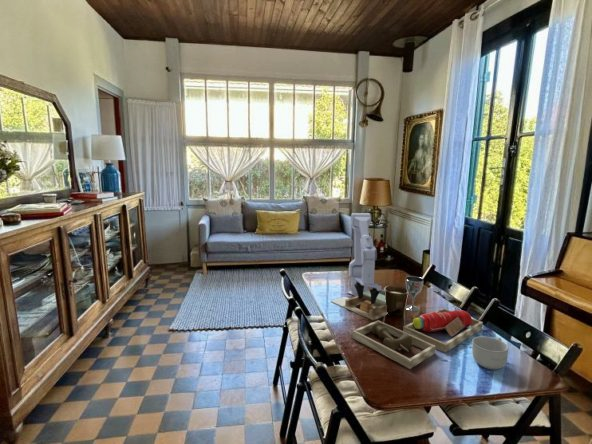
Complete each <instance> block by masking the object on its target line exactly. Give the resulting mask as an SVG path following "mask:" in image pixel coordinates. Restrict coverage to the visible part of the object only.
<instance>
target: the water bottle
mask: <svg viewBox="0 0 592 444" xmlns="http://www.w3.org/2000/svg"><path fill="white" fill-rule="evenodd" d="M472 318H473V317H472V315H471V313H469V312H468V311H465V310H462V309H459V310H457V309H456V310H450V312H442V313H438V312H435V311H434V312H433V311H432V312H427V313H422V314H420V315H419V316H418V317H415V318H413V320H412V322H413V325H414V327H415V328H416V329H415V330H421V331H423V332H427V333H431V332H432V333H433V332H439V331H440V332H441V331H444V330H445V331H446V333H447V334H448V335H449V337H452V338H454V337H455V335H456V334H458V333H459V332H460V331H461V330H463V329H468V328H470V327H471V323H472ZM453 336H454V337H453Z"/></svg>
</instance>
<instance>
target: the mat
mask: <svg viewBox="0 0 592 444" xmlns="http://www.w3.org/2000/svg"><path fill="white" fill-rule="evenodd" d="M350 298H351V297H350ZM350 298H349V297H347V296H342V297H339V298H336V299H333V300H330V302H331V303H332V304H335V305H337V306H339V307H342V308H345V307H344V305H345V301H346V300H347V299H350Z"/></svg>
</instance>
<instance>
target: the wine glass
mask: <svg viewBox="0 0 592 444" xmlns="http://www.w3.org/2000/svg"><path fill="white" fill-rule="evenodd" d="M423 286H424V278H422V277H420V276H415V275H410V276H406V277H405V287H406V291H407V292H408V293H409V295H410V297H411V305H410V304H409V305H405V306H406V307H405V306H404V309H405V310H407V311H409V312H420V311H421V308H420V307H418V306H417V305H415V303H414V302H415V298H416V296H417V295H418V294H420V293H421V291H422V290H423Z"/></svg>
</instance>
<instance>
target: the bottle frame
mask: <svg viewBox="0 0 592 444" xmlns="http://www.w3.org/2000/svg"><path fill="white" fill-rule="evenodd" d="M450 311H451V310H450V309H446V308H444V307H441V308H439V309H437V310H435V311H434V312H438V313H442V312H450ZM471 318H472V323H471V325H470V326H469V327H468V328H466V329H465V330H463V331H462V332H460V333H459V334H457V335H456V336H454V337H452V338H451V339H449V340H447V341H446V342H443V341H441V340H438V339H436V338H433V337H431V336H430V335H429V336H428V335H426V334H425V333H423V332H421V331H420V332H419V331H418V330H417V329H416V328H415V327H414V325H413V321H412V322H410V323H408V324H406V325H403V327H402V328H403V329H402V331H404V332H406V333H408V334H410V335H413V336H415V337H417V338H419V339H422V340H424V341H426V342H428V343H430V344H433V345H435V346H436V348H435V350H439V351H441V352H443V353H447V352H448V351H450V350H451V349H453V348H455V347H457V346H458V345H459V344H461V343H462V342H465V340H468V338H470V337H472V336H473V335H475V334H476V333H478V332H479V331H481V330H483V326H484V325H483V324H484V322H483V321H481V320H479V319H476V318H473V317H471Z"/></svg>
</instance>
